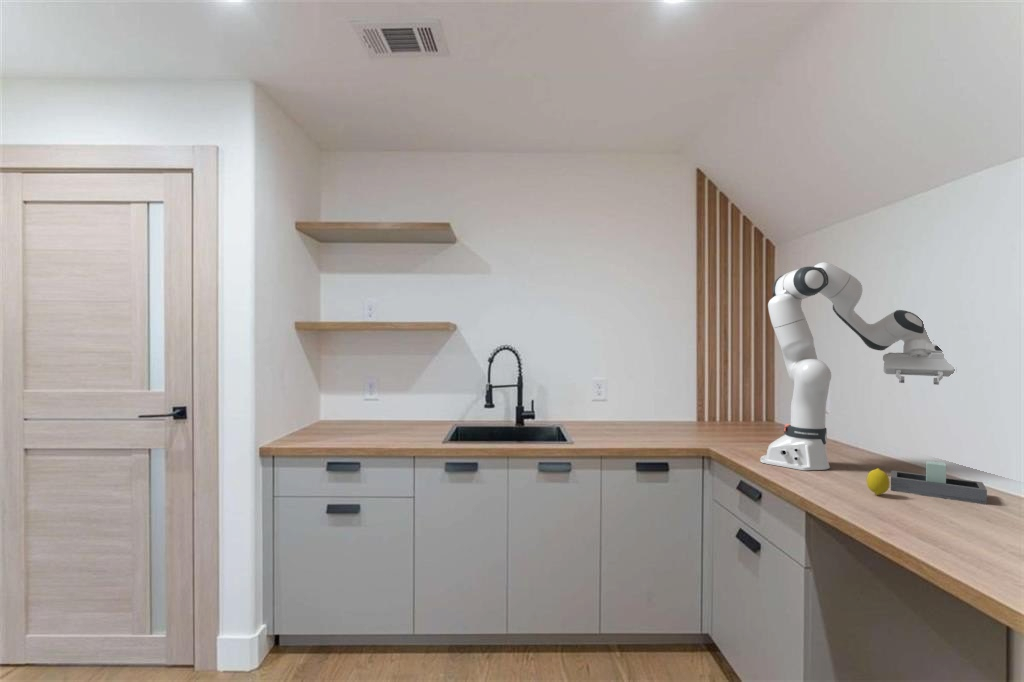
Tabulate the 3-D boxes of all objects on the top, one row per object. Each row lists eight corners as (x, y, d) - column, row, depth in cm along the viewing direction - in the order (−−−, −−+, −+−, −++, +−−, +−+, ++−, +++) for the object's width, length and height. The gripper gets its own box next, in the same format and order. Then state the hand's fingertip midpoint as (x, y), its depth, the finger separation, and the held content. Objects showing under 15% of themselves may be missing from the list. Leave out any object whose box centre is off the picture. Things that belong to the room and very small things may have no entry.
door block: (926, 489, 159) (926, 463, 159) (925, 486, 163) (926, 460, 163) (945, 492, 157) (946, 465, 157) (944, 489, 160) (945, 462, 160)
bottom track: (890, 490, 162) (890, 477, 162) (891, 482, 170) (891, 470, 170) (986, 504, 149) (987, 490, 149) (982, 495, 157) (982, 482, 157)
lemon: (867, 491, 161) (868, 465, 161) (889, 495, 157) (890, 468, 157) (865, 495, 156) (865, 468, 156) (888, 499, 153) (888, 471, 153)
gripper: (883, 346, 194) (881, 374, 186) (955, 347, 182) (957, 378, 174) (883, 358, 198) (882, 386, 190) (954, 360, 186) (956, 390, 178)
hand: (918, 382), depth 182 cm, fingers open, 8 cm apart
